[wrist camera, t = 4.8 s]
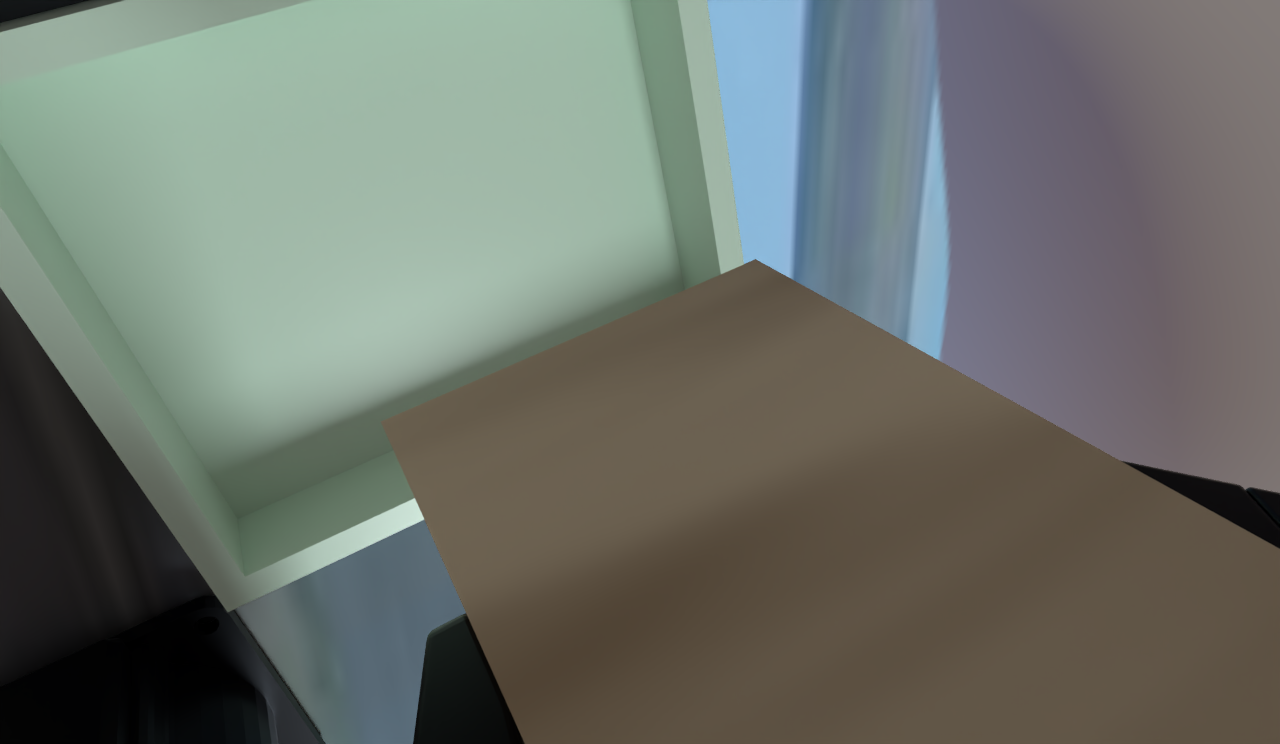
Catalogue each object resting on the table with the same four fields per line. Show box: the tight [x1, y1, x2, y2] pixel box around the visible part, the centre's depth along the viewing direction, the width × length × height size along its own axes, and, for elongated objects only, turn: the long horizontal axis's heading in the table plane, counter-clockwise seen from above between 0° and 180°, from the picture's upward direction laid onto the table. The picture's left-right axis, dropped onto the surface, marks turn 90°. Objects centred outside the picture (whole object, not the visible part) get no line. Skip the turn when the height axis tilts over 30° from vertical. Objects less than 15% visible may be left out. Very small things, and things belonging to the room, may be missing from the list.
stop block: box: [381, 259, 1280, 744], centre depth 7 cm, size 4×4×6 cm
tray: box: [0, 0, 744, 612], centre depth 16 cm, size 10×12×2 cm
